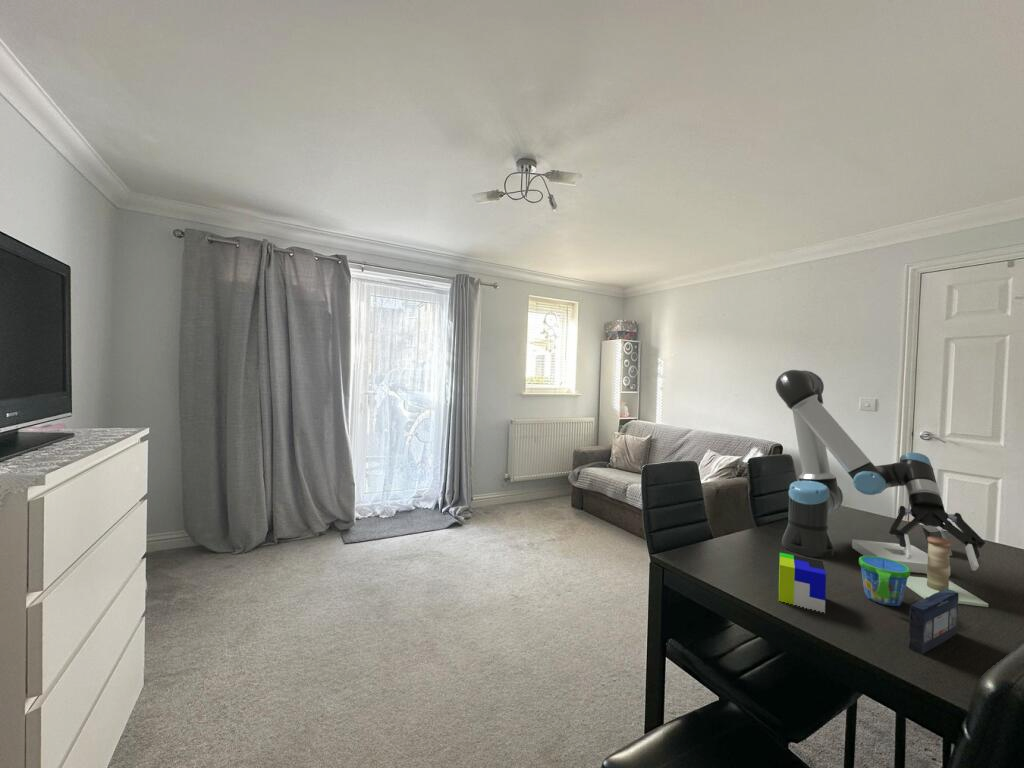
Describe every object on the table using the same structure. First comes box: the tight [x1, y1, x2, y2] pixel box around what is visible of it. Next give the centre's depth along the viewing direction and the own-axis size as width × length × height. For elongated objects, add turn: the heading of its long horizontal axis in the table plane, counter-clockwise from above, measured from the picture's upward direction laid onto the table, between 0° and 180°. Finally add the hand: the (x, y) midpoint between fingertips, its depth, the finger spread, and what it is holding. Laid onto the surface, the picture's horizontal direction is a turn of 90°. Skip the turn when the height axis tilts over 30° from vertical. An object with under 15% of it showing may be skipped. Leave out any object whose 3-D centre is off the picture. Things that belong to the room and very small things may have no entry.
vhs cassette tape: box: [907, 589, 959, 655], centre depth 98 cm, size 18×3×10 cm, turn 115°
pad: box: [906, 575, 989, 608], centre depth 122 cm, size 14×14×1 cm
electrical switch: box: [921, 525, 953, 556], centre depth 153 cm, size 9×5×9 cm, turn 152°
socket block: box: [851, 539, 951, 577], centre depth 143 cm, size 18×18×3 cm
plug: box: [926, 537, 952, 591], centre depth 122 cm, size 5×5×14 cm
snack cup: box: [858, 555, 911, 607], centre depth 116 cm, size 16×10×10 cm
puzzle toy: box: [778, 552, 827, 614], centre depth 116 cm, size 10×10×10 cm
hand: (941, 562), depth 120 cm, fingers open, 13 cm apart
